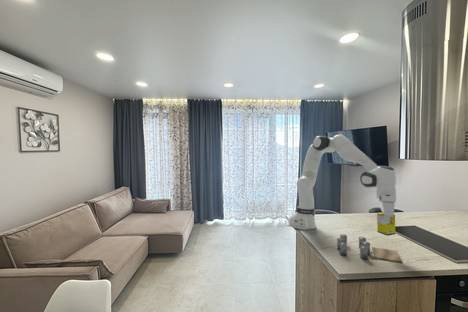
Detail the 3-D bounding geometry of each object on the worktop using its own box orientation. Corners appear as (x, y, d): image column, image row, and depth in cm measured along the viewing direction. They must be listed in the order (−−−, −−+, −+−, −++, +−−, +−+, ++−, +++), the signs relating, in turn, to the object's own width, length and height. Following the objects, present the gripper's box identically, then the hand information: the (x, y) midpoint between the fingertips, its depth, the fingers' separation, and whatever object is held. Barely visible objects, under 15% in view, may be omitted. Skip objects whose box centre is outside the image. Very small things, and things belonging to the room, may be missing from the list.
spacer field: (336, 254, 126) (336, 244, 126) (337, 243, 141) (337, 233, 141) (371, 260, 118) (371, 249, 118) (368, 247, 134) (368, 237, 134)
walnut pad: (374, 258, 121) (374, 256, 121) (372, 248, 133) (372, 247, 133) (402, 263, 116) (402, 261, 116) (396, 252, 128) (396, 250, 128)
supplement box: (395, 234, 122) (395, 214, 122) (387, 235, 121) (386, 215, 120) (385, 231, 128) (385, 211, 128) (377, 232, 126) (376, 212, 126)
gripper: (377, 192, 135) (377, 215, 135) (381, 198, 116) (381, 225, 117) (389, 192, 132) (389, 216, 132) (396, 199, 114) (396, 227, 114)
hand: (386, 220), depth 124 cm, fingers closed on supplement box, 8 cm apart
